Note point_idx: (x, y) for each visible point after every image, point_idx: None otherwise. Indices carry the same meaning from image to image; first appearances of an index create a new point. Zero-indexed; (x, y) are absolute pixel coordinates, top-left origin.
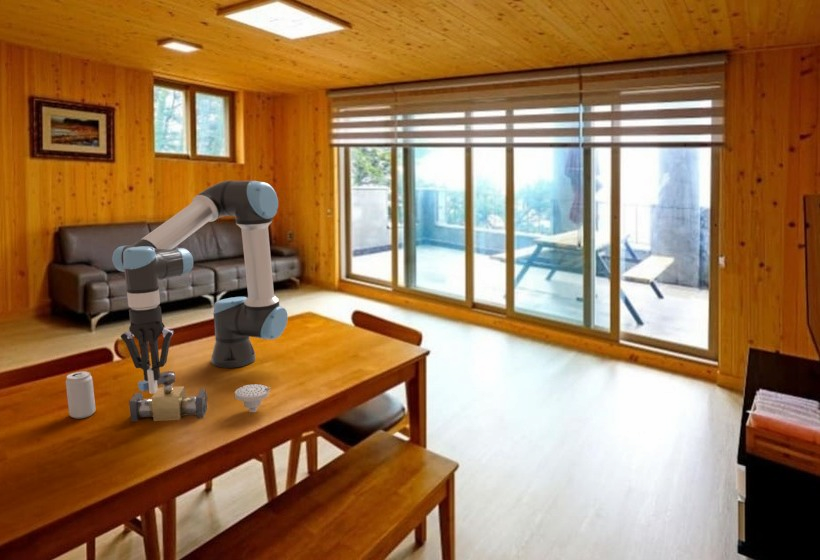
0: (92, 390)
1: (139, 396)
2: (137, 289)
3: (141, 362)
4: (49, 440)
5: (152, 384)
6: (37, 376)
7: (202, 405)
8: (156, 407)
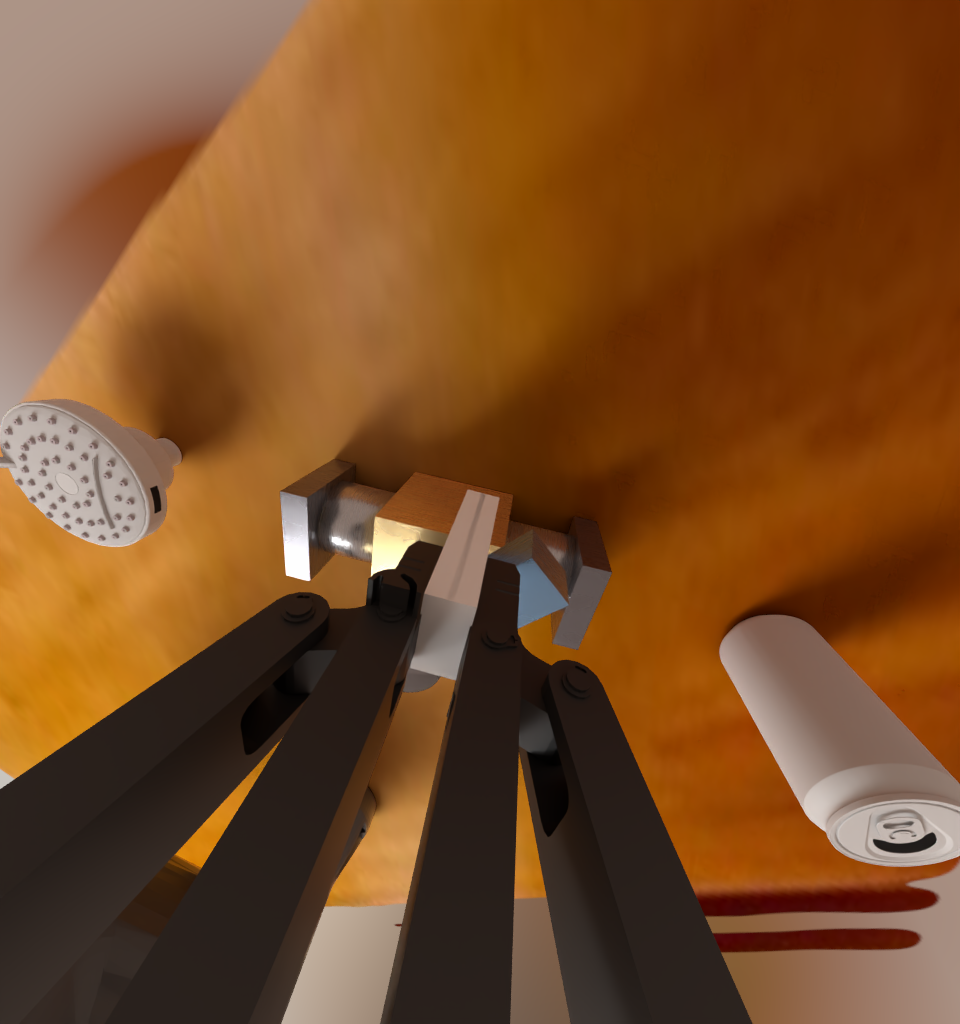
0: (773, 719)
1: (563, 611)
2: None
3: (528, 738)
4: (945, 466)
5: (465, 521)
6: (842, 904)
7: (305, 479)
8: None
